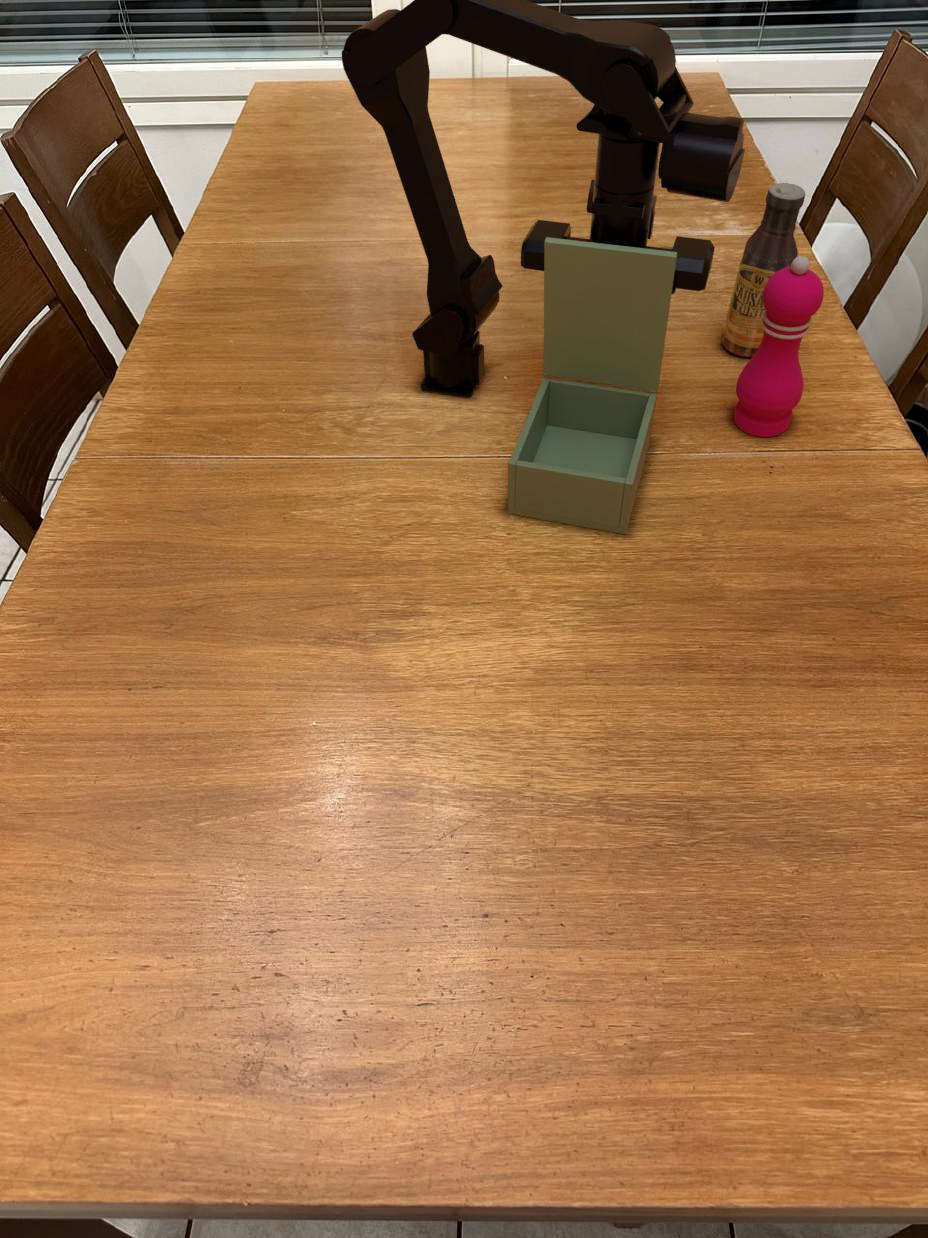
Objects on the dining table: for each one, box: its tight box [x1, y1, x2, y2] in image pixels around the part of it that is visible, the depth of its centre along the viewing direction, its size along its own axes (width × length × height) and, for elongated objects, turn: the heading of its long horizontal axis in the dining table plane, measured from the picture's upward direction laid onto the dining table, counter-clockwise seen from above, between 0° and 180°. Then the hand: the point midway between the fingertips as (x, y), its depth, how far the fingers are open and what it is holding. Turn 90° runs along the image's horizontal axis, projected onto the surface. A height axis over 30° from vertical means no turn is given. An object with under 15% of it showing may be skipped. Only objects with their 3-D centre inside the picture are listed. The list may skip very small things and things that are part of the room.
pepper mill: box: [733, 255, 825, 438], centre depth 102 cm, size 7×7×20 cm
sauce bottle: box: [721, 182, 806, 358], centre depth 112 cm, size 6×6×20 cm
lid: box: [542, 237, 677, 392], centre depth 98 cm, size 16×13×5 cm
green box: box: [507, 375, 658, 535], centre depth 101 cm, size 16×13×7 cm
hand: (608, 330), depth 101 cm, fingers closed on lid, 6 cm apart
